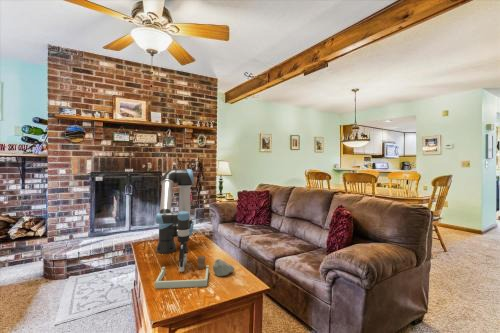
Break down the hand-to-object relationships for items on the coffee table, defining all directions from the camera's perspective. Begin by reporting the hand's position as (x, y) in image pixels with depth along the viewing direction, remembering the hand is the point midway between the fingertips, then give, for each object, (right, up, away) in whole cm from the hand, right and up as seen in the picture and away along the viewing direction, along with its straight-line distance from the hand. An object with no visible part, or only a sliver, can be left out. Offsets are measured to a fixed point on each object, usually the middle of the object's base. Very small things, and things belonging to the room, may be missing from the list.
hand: (183, 267), depth 166 cm
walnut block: (+12, 0, 0) cm, 12 cm away
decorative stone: (+28, -1, -9) cm, 30 cm away
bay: (+5, 0, -18) cm, 18 cm away
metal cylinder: (0, 0, 0) cm, 0 cm away
